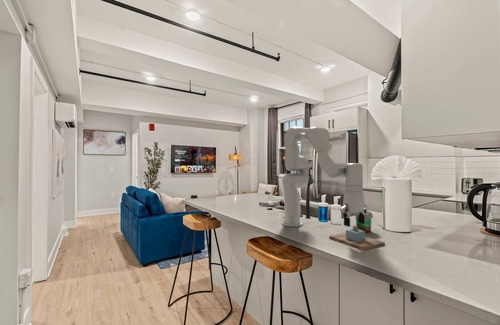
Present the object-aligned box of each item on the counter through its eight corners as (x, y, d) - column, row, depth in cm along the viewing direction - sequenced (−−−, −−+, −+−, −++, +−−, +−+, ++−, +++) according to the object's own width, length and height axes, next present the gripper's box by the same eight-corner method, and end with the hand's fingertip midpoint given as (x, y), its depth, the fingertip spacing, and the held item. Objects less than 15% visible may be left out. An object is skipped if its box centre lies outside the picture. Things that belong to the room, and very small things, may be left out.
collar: (346, 238, 118) (345, 229, 118) (354, 236, 121) (354, 228, 121) (356, 241, 113) (356, 232, 113) (365, 239, 116) (365, 231, 116)
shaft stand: (329, 238, 123) (328, 223, 123) (349, 234, 129) (348, 220, 129) (363, 250, 105) (363, 233, 105) (384, 245, 111) (384, 229, 111)
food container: (367, 235, 127) (366, 215, 127) (355, 232, 132) (355, 214, 132) (377, 230, 135) (376, 212, 135) (365, 228, 140) (365, 210, 140)
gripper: (360, 187, 124) (360, 220, 125) (334, 189, 117) (334, 225, 117) (373, 188, 118) (373, 224, 118) (347, 190, 110) (347, 228, 110)
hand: (354, 224), depth 117 cm, fingers open, 9 cm apart
